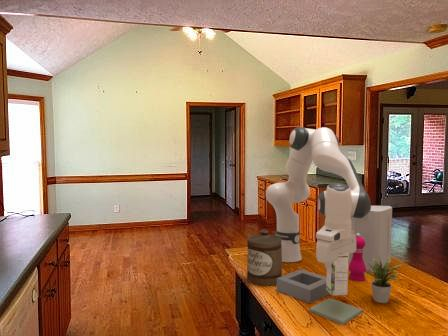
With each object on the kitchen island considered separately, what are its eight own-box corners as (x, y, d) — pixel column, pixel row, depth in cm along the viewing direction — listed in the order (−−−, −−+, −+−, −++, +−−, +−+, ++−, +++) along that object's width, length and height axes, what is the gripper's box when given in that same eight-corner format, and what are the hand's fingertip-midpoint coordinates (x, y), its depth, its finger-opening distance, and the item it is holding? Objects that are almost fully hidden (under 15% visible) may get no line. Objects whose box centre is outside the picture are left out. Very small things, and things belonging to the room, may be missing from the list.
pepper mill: (367, 282, 159) (368, 235, 157) (349, 280, 160) (350, 234, 159) (364, 276, 166) (365, 231, 164) (347, 274, 167) (348, 230, 166)
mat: (309, 311, 132) (309, 308, 132) (329, 300, 140) (329, 298, 140) (342, 324, 122) (342, 321, 122) (362, 312, 131) (362, 309, 131)
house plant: (399, 313, 130) (401, 267, 129) (358, 304, 137) (359, 260, 136) (404, 298, 142) (406, 256, 141) (366, 291, 149) (367, 250, 148)
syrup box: (325, 289, 133) (326, 249, 132) (341, 288, 134) (342, 248, 133) (331, 295, 128) (332, 254, 127) (348, 295, 128) (349, 253, 127)
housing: (276, 290, 150) (276, 278, 150) (300, 280, 161) (300, 269, 160) (310, 303, 138) (310, 290, 138) (333, 291, 149) (334, 279, 148)
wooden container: (240, 280, 161) (240, 229, 160) (261, 271, 172) (261, 223, 171) (268, 289, 151) (268, 235, 150) (288, 279, 162) (289, 229, 161)
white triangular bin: (354, 271, 172) (355, 210, 169) (347, 261, 186) (348, 205, 184) (397, 273, 169) (399, 211, 167) (387, 262, 184) (389, 206, 182)
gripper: (345, 224, 138) (344, 261, 140) (313, 234, 125) (312, 274, 126) (361, 227, 134) (360, 265, 135) (329, 237, 120) (328, 279, 121)
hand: (337, 270), depth 130 cm, fingers closed on syrup box, 8 cm apart
